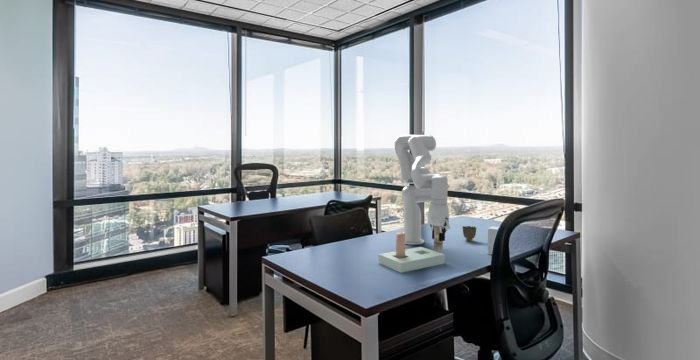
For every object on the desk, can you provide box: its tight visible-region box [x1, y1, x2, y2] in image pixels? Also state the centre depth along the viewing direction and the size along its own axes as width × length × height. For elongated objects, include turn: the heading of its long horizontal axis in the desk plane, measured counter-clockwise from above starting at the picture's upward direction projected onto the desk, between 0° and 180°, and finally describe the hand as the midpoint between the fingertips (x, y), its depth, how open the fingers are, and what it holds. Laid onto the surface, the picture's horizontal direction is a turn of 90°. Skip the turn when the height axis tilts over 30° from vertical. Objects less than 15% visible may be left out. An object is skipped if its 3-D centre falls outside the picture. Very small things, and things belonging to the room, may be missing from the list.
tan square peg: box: [395, 232, 406, 259], centre depth 163 cm, size 4×4×14 cm
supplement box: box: [487, 225, 500, 255], centre depth 183 cm, size 7×7×13 cm
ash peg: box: [433, 226, 444, 253], centre depth 178 cm, size 4×4×14 cm
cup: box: [462, 225, 477, 243], centre depth 209 cm, size 8×7×8 cm
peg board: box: [378, 246, 446, 274], centre depth 166 cm, size 16×24×5 cm, turn 119°
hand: (438, 239), depth 179 cm, fingers closed on ash peg, 4 cm apart
